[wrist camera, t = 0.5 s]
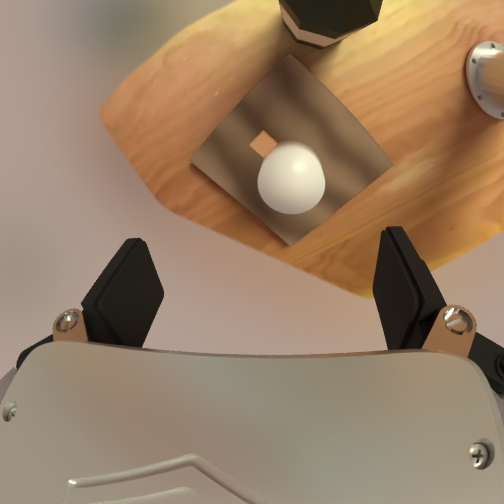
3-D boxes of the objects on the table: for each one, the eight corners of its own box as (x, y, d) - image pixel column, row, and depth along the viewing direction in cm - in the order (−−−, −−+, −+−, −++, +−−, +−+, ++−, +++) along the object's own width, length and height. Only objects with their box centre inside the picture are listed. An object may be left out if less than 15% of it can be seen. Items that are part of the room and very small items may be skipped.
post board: (289, 54, 30) (289, 50, 25) (389, 160, 37) (403, 174, 32) (193, 156, 40) (179, 169, 36) (291, 239, 47) (290, 262, 42)
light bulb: (277, 115, 30) (275, 123, 26) (333, 170, 33) (338, 186, 29) (237, 156, 33) (228, 171, 29) (291, 205, 36) (290, 225, 32)
